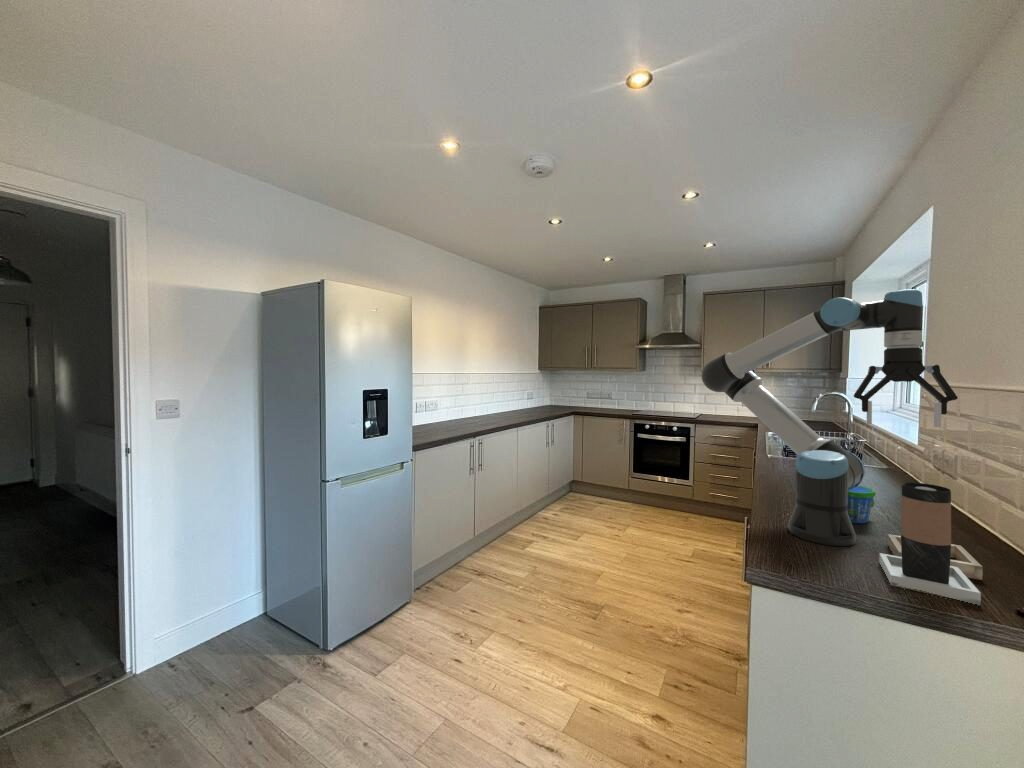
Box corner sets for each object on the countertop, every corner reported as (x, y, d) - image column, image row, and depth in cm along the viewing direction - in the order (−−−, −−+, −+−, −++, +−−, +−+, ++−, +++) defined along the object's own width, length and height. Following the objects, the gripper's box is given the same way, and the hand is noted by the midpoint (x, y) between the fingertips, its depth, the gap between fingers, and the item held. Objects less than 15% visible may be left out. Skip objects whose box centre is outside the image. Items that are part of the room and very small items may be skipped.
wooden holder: (899, 564, 96) (899, 552, 96) (887, 545, 107) (887, 534, 107) (982, 580, 89) (982, 566, 88) (960, 557, 100) (960, 545, 100)
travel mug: (961, 588, 83) (962, 492, 83) (918, 584, 85) (918, 490, 85) (931, 571, 91) (932, 483, 90) (891, 567, 92) (892, 481, 92)
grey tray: (890, 586, 86) (890, 575, 86) (879, 563, 97) (879, 553, 97) (980, 605, 79) (981, 593, 79) (957, 578, 89) (957, 567, 89)
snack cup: (847, 527, 120) (847, 493, 119) (815, 515, 130) (815, 484, 130) (891, 524, 122) (891, 491, 122) (856, 513, 132) (856, 482, 132)
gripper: (845, 349, 113) (844, 423, 114) (975, 344, 99) (974, 429, 100) (842, 350, 120) (841, 421, 120) (964, 346, 105) (963, 426, 106)
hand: (902, 425), depth 110 cm, fingers open, 13 cm apart
